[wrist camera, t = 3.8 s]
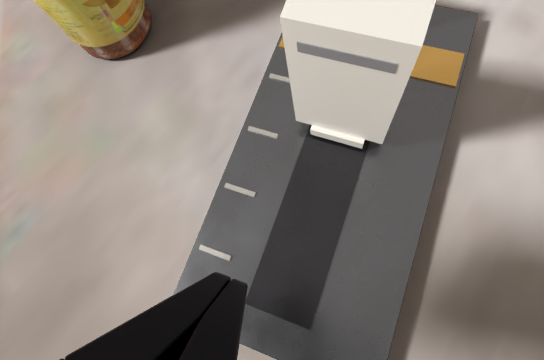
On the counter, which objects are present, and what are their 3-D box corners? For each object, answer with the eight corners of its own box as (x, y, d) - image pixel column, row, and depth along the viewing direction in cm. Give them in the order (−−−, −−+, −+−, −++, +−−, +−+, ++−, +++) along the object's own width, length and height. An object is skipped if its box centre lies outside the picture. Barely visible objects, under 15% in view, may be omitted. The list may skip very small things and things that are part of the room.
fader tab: (378, 153, 21) (420, 53, 12) (295, 130, 22) (276, 23, 13) (391, 112, 22) (439, -12, 13) (309, 91, 23) (301, -35, 14)
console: (372, 395, 19) (385, 424, 15) (174, 310, 22) (141, 315, 18) (471, 26, 24) (499, -26, 20) (303, -6, 27) (300, -57, 23)
